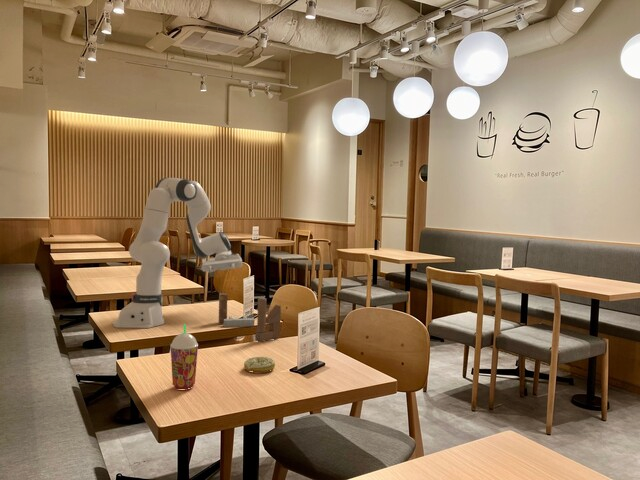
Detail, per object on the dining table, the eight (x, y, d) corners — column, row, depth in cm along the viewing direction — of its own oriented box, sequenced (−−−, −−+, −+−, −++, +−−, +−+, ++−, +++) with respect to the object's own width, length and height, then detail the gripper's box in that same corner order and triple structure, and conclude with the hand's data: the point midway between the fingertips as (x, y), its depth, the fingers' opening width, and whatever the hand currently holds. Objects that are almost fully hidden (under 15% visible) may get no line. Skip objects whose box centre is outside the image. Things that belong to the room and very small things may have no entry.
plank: (219, 323, 253) (219, 294, 252) (218, 322, 257) (219, 293, 256) (226, 323, 254) (227, 294, 253) (225, 321, 258) (226, 293, 257)
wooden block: (280, 338, 230) (281, 297, 229) (260, 342, 223) (261, 299, 222) (274, 336, 233) (276, 295, 232) (254, 340, 226) (255, 298, 225)
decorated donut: (241, 366, 191) (242, 356, 190) (271, 364, 194) (271, 354, 193) (246, 375, 181) (246, 364, 180) (277, 373, 184) (277, 362, 183)
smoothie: (165, 387, 167) (165, 323, 165) (188, 381, 172) (189, 320, 171) (178, 394, 161) (179, 329, 159) (202, 388, 167) (203, 325, 165)
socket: (224, 326, 248) (224, 320, 247) (222, 322, 256) (222, 316, 256) (254, 325, 251) (254, 319, 251) (251, 321, 260) (251, 315, 259)
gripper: (201, 257, 274) (199, 265, 261) (241, 253, 276) (241, 260, 263) (203, 269, 276) (201, 277, 263) (243, 265, 278) (242, 272, 265)
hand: (221, 268), depth 263 cm, fingers open, 8 cm apart
